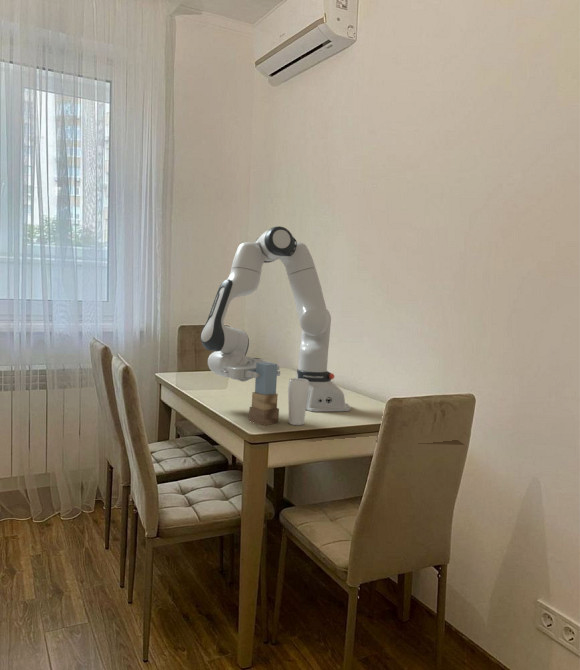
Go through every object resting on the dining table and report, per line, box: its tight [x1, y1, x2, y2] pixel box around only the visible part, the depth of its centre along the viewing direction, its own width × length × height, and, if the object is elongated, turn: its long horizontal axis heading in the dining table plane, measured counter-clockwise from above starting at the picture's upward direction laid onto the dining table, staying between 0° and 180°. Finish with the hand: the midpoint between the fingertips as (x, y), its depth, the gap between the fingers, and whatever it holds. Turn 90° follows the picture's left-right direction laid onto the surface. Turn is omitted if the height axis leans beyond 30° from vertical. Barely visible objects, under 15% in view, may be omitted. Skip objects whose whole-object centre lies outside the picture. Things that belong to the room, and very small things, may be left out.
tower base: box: [248, 406, 280, 426], centre depth 195 cm, size 7×7×5 cm
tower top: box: [251, 391, 279, 411], centre depth 195 cm, size 6×6×5 cm
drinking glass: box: [287, 377, 309, 426], centre depth 195 cm, size 7×7×15 cm
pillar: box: [254, 361, 278, 395], centre depth 194 cm, size 5×5×10 cm
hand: (268, 374), depth 193 cm, fingers open, 8 cm apart
